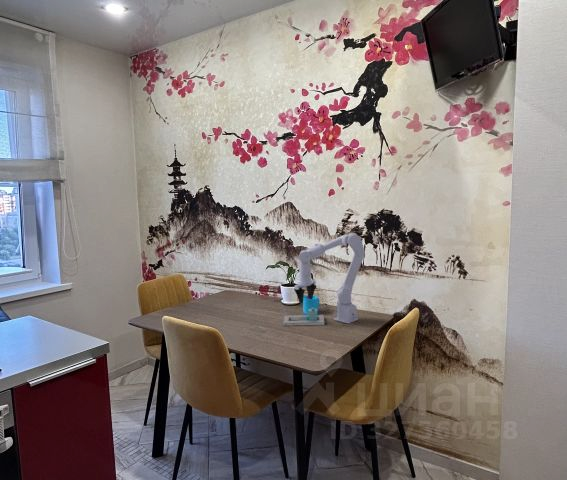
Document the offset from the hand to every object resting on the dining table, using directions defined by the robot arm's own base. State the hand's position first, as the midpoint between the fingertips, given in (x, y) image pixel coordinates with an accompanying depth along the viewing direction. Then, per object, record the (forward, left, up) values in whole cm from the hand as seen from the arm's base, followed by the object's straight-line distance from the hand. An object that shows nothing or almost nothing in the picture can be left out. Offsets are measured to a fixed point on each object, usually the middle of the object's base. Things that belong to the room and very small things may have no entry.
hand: (305, 300), depth 202 cm
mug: (+8, -13, -10) cm, 18 cm away
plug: (-4, 0, -10) cm, 11 cm away
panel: (-1, +3, -10) cm, 11 cm away
